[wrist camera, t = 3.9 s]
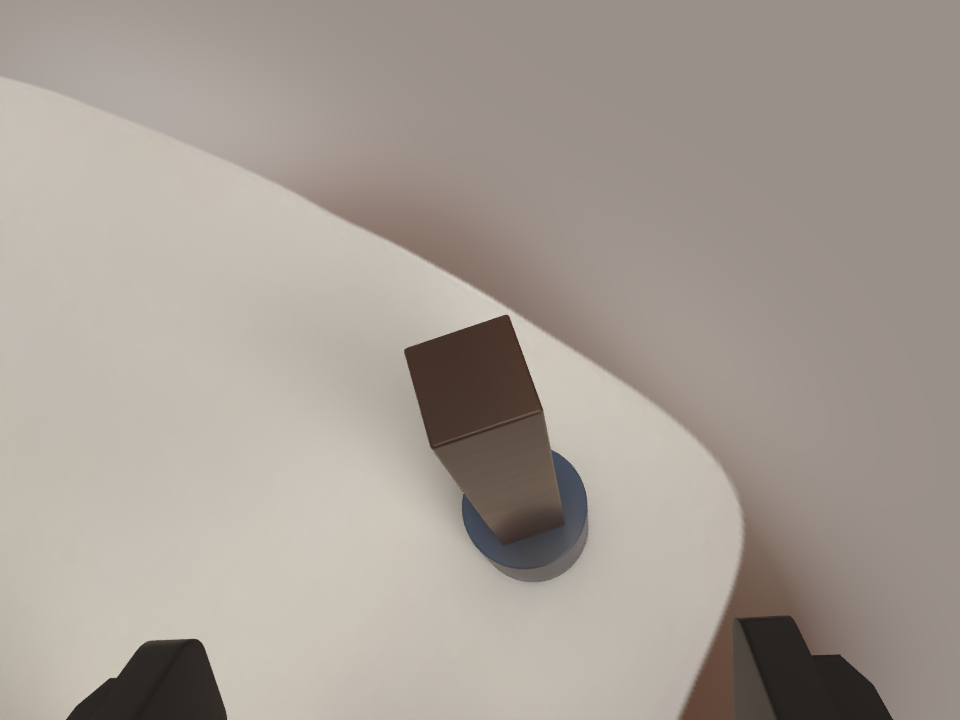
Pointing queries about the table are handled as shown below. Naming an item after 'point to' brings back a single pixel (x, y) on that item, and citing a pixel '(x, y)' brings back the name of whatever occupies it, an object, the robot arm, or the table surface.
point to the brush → (500, 450)
